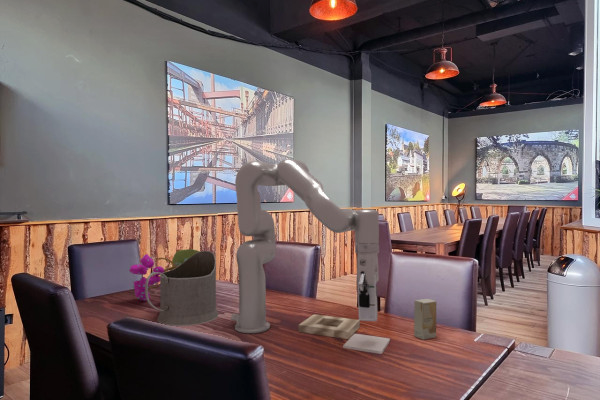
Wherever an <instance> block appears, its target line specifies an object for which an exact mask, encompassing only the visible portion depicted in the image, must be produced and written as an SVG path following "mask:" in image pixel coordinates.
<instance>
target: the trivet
mask: <svg viewBox="0 0 600 400" xmlns="http://www.w3.org/2000/svg"><path fill="white" fill-rule="evenodd" d="M390 342H391V338H389V337H382V336H381V337H380V336H374V335H367V334H362V333H361V334H360V333H359V334H358V333H354V334H353V335H352V336H351V337H350V338H349V339H347V341H346V342H345V343H344V344H343V345H342V347H343V349H348V350H354V351H360V352H365V353H373V354H379V355H382V354H383V352H385V350H386V348H387V346H389V343H390Z"/></svg>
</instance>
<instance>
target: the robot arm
mask: <svg viewBox="0 0 600 400" xmlns="http://www.w3.org/2000/svg"><path fill="white" fill-rule="evenodd" d="M234 183H235V184H234V185H235V187H234V188H235V193H236V208H237V209H236V210H237V225H238V230H239V232H240V233H241V234H242V235H243V236H245V237H252V239H250V240H246V241H244V242H243V243H241V244H240V245H239V246H238V248H237V250H236V253H235V254H236V256H235V257H236V262H237V263H236V264H237V269H238V270H237V271H238V308H239V309H238V313H232V314H231V316H230V321H235V322H236V323H235V324H234V329H235V331H237V332H239V333H243V334H259V333H263V332H267V331H268V330H269V329H270V328H271V323H270V322H269V321H267V319H266V317H267V315H266V311H267V309H266V306H267V305H266V301H267V300H266V299H267V298H266V297H267V296H266V291H267V290H266V287H267V286H266V285H267V284H266V273H265V269H264V266H263V265H264V264H268V263H270V262H272V260H273V259H274V258H275V256H276V253H277V242H276V240H277V239H276V227H275V221H274V218H273V216H272V214H271V213H270V212H269V211H267V210H264V209H262V206H261V203H262V201H261V195H260V192H259V190H258V187H259V186H261V187H262V186H263V187H264V186H266V187H279V186H286V187H288V188H289V190H291V191H292V192H293V193H294V194H296V196H298V197H299V198H300V199H301V201H303V202H304V204H305V206H306V207H307V209H308V210H309V211H310V213H311V214H312V215H313V216H314V217H315V218H316V220H318V221H319V222H320V224H322V225H324V227H326V228H327V229H328V230H329V231H331V232H332V233H335V234H341V233H346V232H351V231H354V253H355V254H357V256H356V257H357V259H356V283H357V285H358V284H359V306H360V307H365V308H369V307H370V295H369V294H368V293H369V285H370V286H373V285H374V275H375V276H376V284H377V283H378V282H379V281H380V276H379V275H380V274H379V258H378V254H379V253H380V243H379V242H380V238H379V237H380V227H379V226H380V223H379V222H380V221H379V217H380V216H379V215H380V214H379V211H378V210H376V209H370V208H369V209H351V208H340V207H339V206H338V205H337V204H336V203H334V202H333V201H332V200H331V199H330V198H329V197H328V195H327V194H326V193H325V192H324V186H323V183H322V182H321V181H319V179H317V178H316V177H315V176H314V175H312V174H311V173H310V171H309V168H308V166H307V165H306V163H305V162H303V161H301V160H298V159H292V158H286V159H282V160H281V161H280V162H278V163H269V162H265V161H259V160H257V161H256V160H253V161H249V162H247V163H245V164H242V166H241V167H240V168H239V169H238V172H237V173H236V176H235V182H234ZM364 283H367V284H364ZM365 287H366V288H365Z"/></svg>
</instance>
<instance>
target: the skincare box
mask: <svg viewBox="0 0 600 400" xmlns="http://www.w3.org/2000/svg"><path fill="white" fill-rule="evenodd" d="M413 311H414V312H413V313H414V314H413V315H414V317H413V318H414V319H413V321H414V323H413V324H414V325H413V330H414V332H413V336H414V337H416V338H419V339H421V340H427V339H433V338H437V301H436V300H434V299H430V298H423V299H416V300H414V310H413Z"/></svg>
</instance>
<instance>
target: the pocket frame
mask: <svg viewBox="0 0 600 400" xmlns="http://www.w3.org/2000/svg"><path fill="white" fill-rule="evenodd" d="M360 327H361V320H359V319H356V318H354V319H353V318H347V317H339V316H338V317H337V316H333V315H332V316H330V315H322V314H315V313H314V314H312V315H311V316H309V317H307V319H305V320H303V321H302V322H301V323H299V324H298V333H303V334H304V333H305V334H311V335H319V336H324V337H331V338H337V339H342V340H349V339H350V338H351V337H352V336H353V335H354V334H356V332H357V330H358V329H360Z"/></svg>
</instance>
